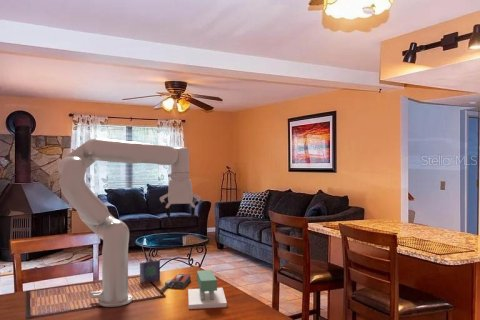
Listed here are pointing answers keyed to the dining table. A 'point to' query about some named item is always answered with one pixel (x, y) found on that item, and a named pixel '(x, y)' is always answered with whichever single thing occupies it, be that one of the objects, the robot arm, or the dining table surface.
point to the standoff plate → (206, 299)
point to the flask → (149, 270)
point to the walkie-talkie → (178, 281)
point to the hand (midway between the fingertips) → (180, 217)
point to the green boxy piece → (206, 280)
